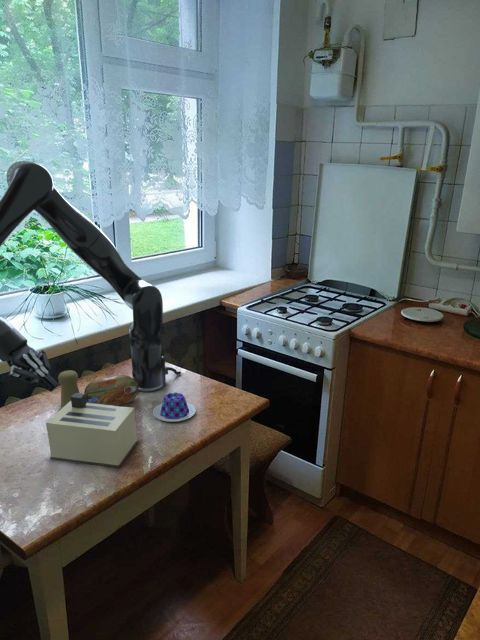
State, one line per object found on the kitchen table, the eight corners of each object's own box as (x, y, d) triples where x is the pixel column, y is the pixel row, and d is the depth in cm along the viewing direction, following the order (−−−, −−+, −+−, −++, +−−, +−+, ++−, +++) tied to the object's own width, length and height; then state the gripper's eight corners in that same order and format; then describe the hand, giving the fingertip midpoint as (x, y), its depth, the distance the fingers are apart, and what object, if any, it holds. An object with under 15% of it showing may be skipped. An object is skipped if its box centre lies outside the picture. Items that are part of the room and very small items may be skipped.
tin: (86, 411, 140) (83, 385, 136) (84, 406, 142) (81, 380, 139) (139, 401, 146) (137, 375, 143) (136, 397, 149) (135, 371, 146)
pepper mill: (86, 402, 144) (82, 368, 140) (77, 413, 139) (73, 377, 135) (66, 401, 145) (62, 367, 141) (56, 411, 139) (51, 376, 135)
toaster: (77, 431, 130) (72, 397, 126) (140, 438, 128) (137, 404, 124) (50, 459, 118) (44, 422, 114) (119, 468, 116) (115, 431, 112)
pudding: (148, 407, 143) (147, 391, 141) (187, 399, 148) (187, 384, 146) (160, 427, 133) (159, 410, 131) (202, 418, 138) (201, 401, 136)
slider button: (76, 402, 124) (75, 392, 123) (86, 403, 123) (85, 393, 122) (71, 407, 121) (70, 397, 120) (81, 408, 121) (80, 398, 120)
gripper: (-10, 337, 111) (48, 392, 114) (26, 319, 123) (77, 368, 126) (-27, 357, 114) (30, 409, 117) (9, 337, 126) (60, 385, 129)
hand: (54, 388), depth 122 cm, fingers closed
